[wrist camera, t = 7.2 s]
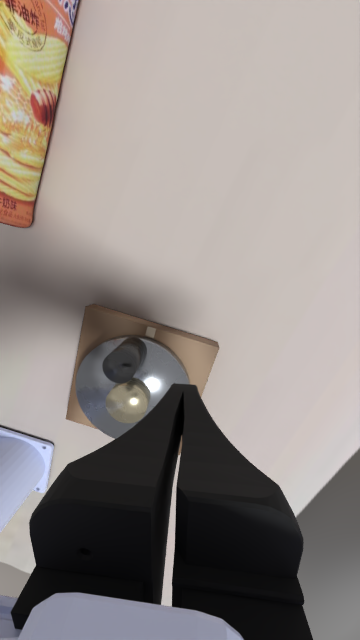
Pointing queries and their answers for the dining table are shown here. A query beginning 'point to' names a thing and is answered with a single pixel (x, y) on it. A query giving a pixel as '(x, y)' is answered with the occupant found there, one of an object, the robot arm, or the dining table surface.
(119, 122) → the dining table surface
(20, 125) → the snack package
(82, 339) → the walnut base
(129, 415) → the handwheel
